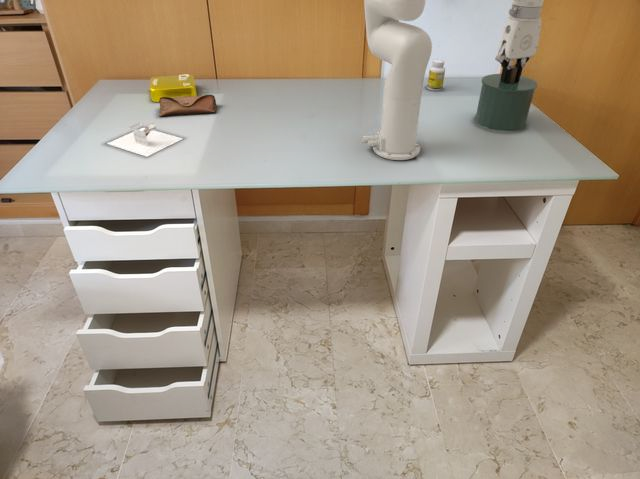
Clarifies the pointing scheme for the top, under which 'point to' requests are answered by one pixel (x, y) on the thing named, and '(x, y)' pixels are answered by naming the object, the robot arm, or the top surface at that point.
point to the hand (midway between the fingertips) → (509, 80)
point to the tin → (503, 109)
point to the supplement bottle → (436, 75)
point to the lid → (512, 86)
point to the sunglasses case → (187, 105)
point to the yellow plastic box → (172, 86)
